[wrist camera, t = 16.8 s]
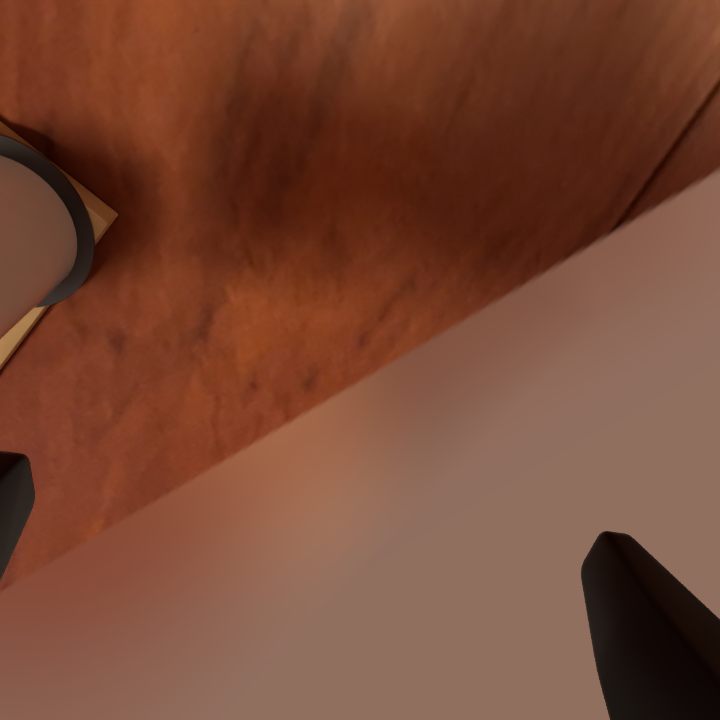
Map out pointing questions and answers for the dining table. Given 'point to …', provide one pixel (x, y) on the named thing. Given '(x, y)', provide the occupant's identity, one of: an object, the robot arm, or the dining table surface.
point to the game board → (88, 223)
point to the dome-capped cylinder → (30, 242)
